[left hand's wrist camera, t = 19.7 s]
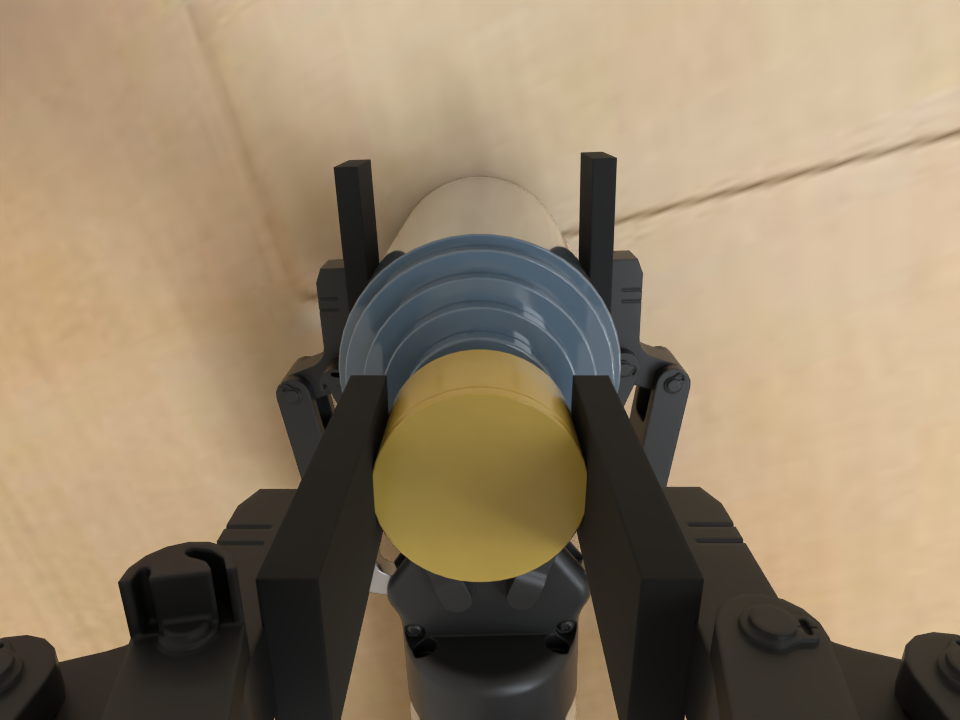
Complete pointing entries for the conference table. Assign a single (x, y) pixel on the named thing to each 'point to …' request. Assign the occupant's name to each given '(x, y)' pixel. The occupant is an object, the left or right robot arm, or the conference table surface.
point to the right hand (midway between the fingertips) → (475, 160)
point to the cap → (479, 468)
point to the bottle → (479, 292)
